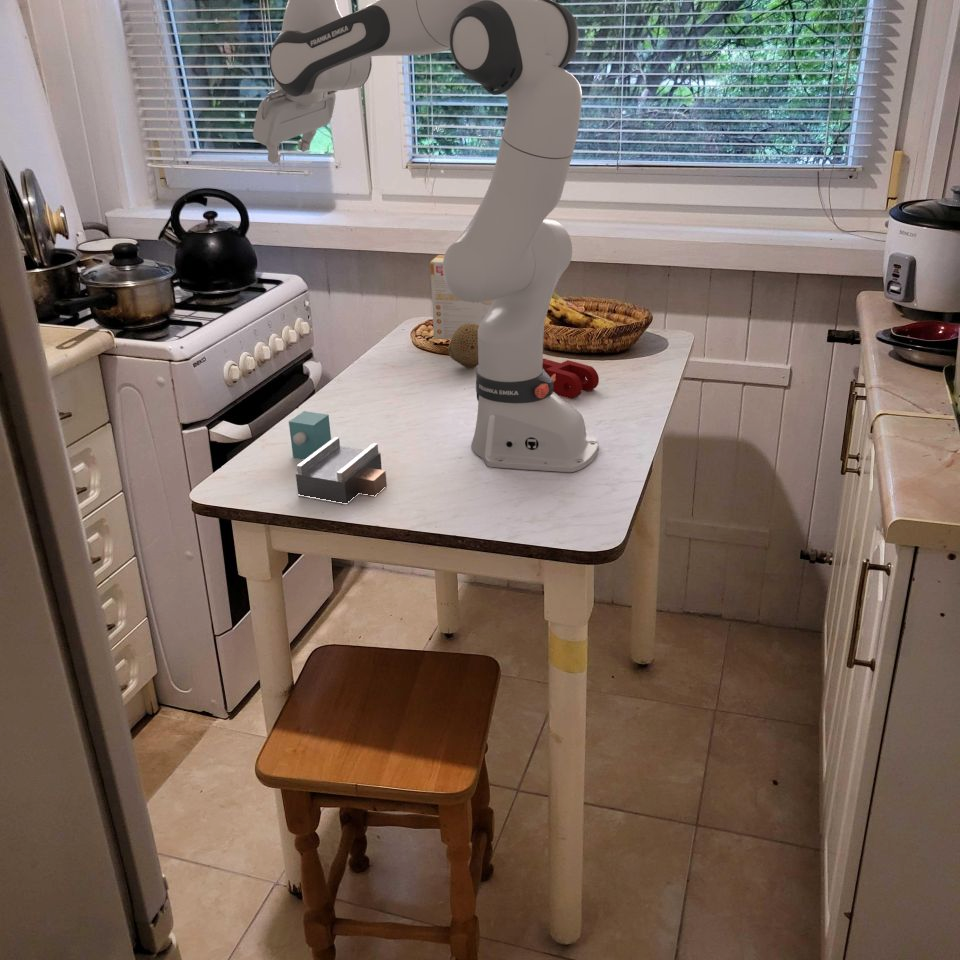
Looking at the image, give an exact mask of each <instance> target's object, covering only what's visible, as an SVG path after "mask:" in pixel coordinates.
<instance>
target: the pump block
mask: <svg viewBox="0 0 960 960" xmlns="http://www.w3.org/2000/svg"><path fill="white" fill-rule="evenodd" d="M330 423H331V422H330V415H329V414H325V413H320V412H314V411H313V412H312V411H307V410H304V411H302V412H301V413H299V414H298V415H296V416H295V417H293V418H292V419H290V420H289V421H288V427H289V435H290V443H291V444H290V445H291V452H292V458H293V459H297V458H298V460H302V459H304V460H305V459H306V458H307V457H309V456H310V455H311V454H313V453H314V452H315V451H317V450H318V449H320V448H321V447H322V446H324V445H325V444H326V443H328V442H329V441H330V440H332V434H331V426H330Z"/></svg>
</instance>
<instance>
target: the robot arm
mask: <svg viewBox="0 0 960 960" xmlns="http://www.w3.org/2000/svg"><path fill="white" fill-rule="evenodd" d="M578 44H579V28H578V24H577V21H576V19H575V17H574V15H573V14H572V12H571V11H570V10H569V9H568V8H567V7H566V6H564V5H563V4H561V3H558V2H556V1H554V0H376V1H374V2H372V3H370V4H368V5H367V6H365V7H363V8H361V9H359V10H357V11H354V12H352V13H350V14H347V15H345V16H343V15H342V13H341V12H340V10H339V7H338V3H337V0H288V1H287V4H286V6H285V11H284V16H283V19H282V27H281V32H280V33H278V36H277V37H276V38H275V40H274V42H273V45H272V47H271V49H270V53H269V59H268V60H269V61H268V62H269V69H270V72H271V75H272V76H273V79H274V84H273V89H274V91H270V92H269V93H267V95H266V97H264V99H262V100H261V102H260V103H259V105H258V108H257V110H256V111H257V112H256V115H255V120H254V125H253V129H252V136H253V139H254V140H255V141H256V142H258V143H259V144H261V145H264V146H266V149H267V152H268V153H267V161H268V162H269V163H271V164H274V165H275V164H277V163H279V162H280V161H281V156H282V154H281V152H279V151H278V148H279V147H280V145H281V143H283V142H285V141H288V140H290V139H293V138H296V137H298V136H301V138H300V139H298V142H297V143H298V144H297V149H298V150H299V151H301V152H303V153H304V152H308V151H310V148H311V147H310V146H311V142H312V141H313V139H314V137H315V136H316V134H317V129H320V128H323V127H326V126H328V125H329V123H330V122H331V119H332V117H333V114H334V109H335V105H336V104H335V103H336V98H337V97H336V93H337V92H338V91H346V90H353V89H358V88H361V87H363V86H364V85H365V84H366V82H367V81H368V79H369V77H370V75H371V72H372V65H373V57H379V56H381V57H383V56H385V57H386V56H388V57H389V56H395V57H397V56H400V57H401V56H404V57H405V56H425V55H433V54H436V53H441V52H445V51H448V50H450V52H451V55H452V59H453V62H454V63H455V65H456V67H457V68H458V69H459V70H460V71H461V72H462V74H464V76H466V77H467V78H469V79H470V80H472V81H474V82H476V83H478V84H480V85H481V87H483V89H485V91H487V93H489V94H491V95H493V96H498V95H501V94H503V93H504V94H505V96H506V99H507V112H506V118H505V119H506V120H505V122H504V127H503V130H502V135H501V140H500V144H499V147H498V148H499V149H498V152H497V156H496V160H495V165H494V169H493V172H492V177H491V180H490V183H489V184H488V185H489V186H488V188H487V191H486V193H485V194H484V196H483V199H482V200H481V203H480V204H479V207H478V208H477V210H476V212H475V214H474V216H473V217H472V219H471V221H470V222H469V224H468V225H467V226H466V228H465V229H464V231H463V232H462V233H461V235H460V236H459V237H458V238H457V239H456V240H455V241H454V242H453V243H452V244H451V245H449V247H448V248H446V251H445V253H444V254H443V255H444V259H443V274H444V278H445V281H446V284H447V286H448V287H449V289H450V290H451V292H452V293H453V294H454V295H455V296H456V297H458V298H459V299H461V300H463V301H468V302H479V301H492V300H493V303H492V305H491V307H490V309H489V311H488V313H487V314H486V316H485V317H484V318H483V320H482V321H481V323H480V325H479V328H478V369H477V370H476V373H475V374H476V375H475V376H476V377H475V379H476V380H475V392H476V400H477V404H478V405H477V416H476V423H475V429H474V434H473V438H472V442H471V444H470V447H471V450H472V451H473V453H474V454H475V455H477V456H479V457H480V458H481V459H483V460H484V462H485V464H487V467H490V468H499V469H500V468H502V469H516V470H530V471H544V472H545V471H546V472H558V473H560V472H561V473H574V472H576V471H580V470H581V469H584V468H585V467H587V466H588V465H590V464H591V463H592V462H593V460H595V458H596V457H597V455H598V453H599V448H600V447H599V441H598V439H597V438H596V437H595V436H592V435H588V434H587V432H586V431H587V429H586V423H585V420H584V417H583V415H582V413H581V412H580V411H579V410H577V409H576V408H575V407H574V406H572V405H571V404H569V403H568V402H567V401H566V400H565V399H563V398H562V396H559V395H557V394H556V393H555V392H553V382H554V381H555V380H556V378H555V376H556V374H554V375H553V376H552V377H550V376H549V375H548V374H547V373H546V372H545V370H544V369H543V358H544V357H543V356H544V355H543V354H544V333H545V331H544V330H545V324H546V319H547V316H548V315H547V314H548V310H549V308H550V305H551V301H552V298H553V295H554V292H555V289H556V287H557V284H558V283H559V280H560V278H561V277H562V274H563V273H564V272H565V271H566V270H567V268H568V267H569V265H570V263H571V260H572V257H573V244H572V239H571V236H570V234H569V232H568V231H567V229H566V228H565V227H564V225H562V224H561V223H560V222H558V221H557V220H554V219H550V218H548V219H547V217H548V216H549V214H550V213H551V212H553V211H554V210H555V208H556V207H557V206H558V204H559V202H560V200H561V198H562V195H563V190H564V186H565V184H566V179H567V176H568V173H569V170H570V164H571V161H572V158H573V154H574V149H575V146H576V143H577V142H576V141H577V137H578V132H579V127H580V120H581V112H582V111H581V110H582V100H583V91H582V87H581V84H580V82H579V81H578V79H577V78H576V77H575V76H574V75H573V74H572V73H571V72H569V70H566V69H564V68H565V67H566V66H567V65H568V64H569V63H570V62H571V61H572V59H573V58H574V56H575V54H576V52H577V48H578Z"/></svg>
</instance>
